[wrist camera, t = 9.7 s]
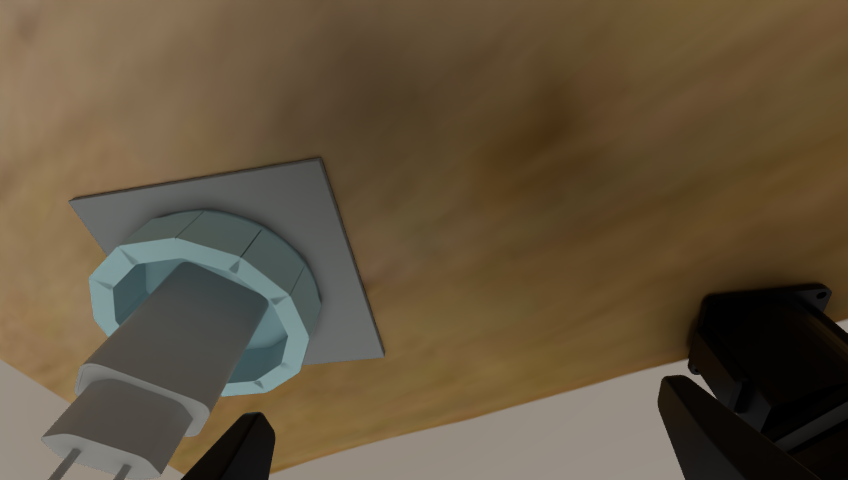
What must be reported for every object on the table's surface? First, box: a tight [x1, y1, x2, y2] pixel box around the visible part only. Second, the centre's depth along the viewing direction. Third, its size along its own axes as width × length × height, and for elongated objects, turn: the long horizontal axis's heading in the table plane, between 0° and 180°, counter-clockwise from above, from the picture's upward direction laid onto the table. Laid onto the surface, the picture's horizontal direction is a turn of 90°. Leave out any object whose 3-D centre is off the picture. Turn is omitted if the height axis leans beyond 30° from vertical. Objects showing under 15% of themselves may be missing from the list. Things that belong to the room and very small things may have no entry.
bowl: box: [89, 209, 321, 396], centre depth 23 cm, size 11×11×3 cm
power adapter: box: [41, 262, 269, 480], centre depth 18 cm, size 3×5×12 cm, turn 58°
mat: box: [68, 158, 385, 365], centre depth 24 cm, size 14×14×1 cm
